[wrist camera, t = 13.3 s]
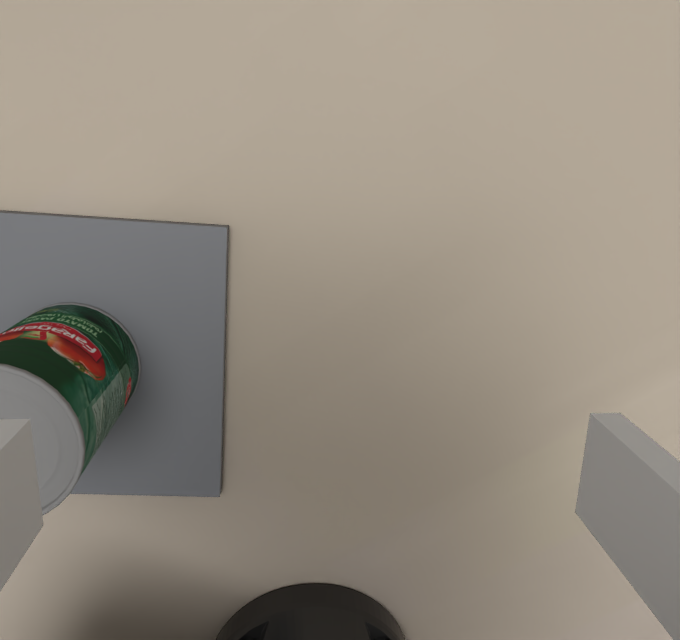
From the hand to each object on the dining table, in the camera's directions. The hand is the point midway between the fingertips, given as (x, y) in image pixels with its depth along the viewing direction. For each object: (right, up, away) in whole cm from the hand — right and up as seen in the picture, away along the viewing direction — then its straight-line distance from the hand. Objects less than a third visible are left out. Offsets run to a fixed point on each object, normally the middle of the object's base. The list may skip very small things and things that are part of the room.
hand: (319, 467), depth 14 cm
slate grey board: (-16, +1, +24) cm, 29 cm away
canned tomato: (-16, +1, +23) cm, 28 cm away
